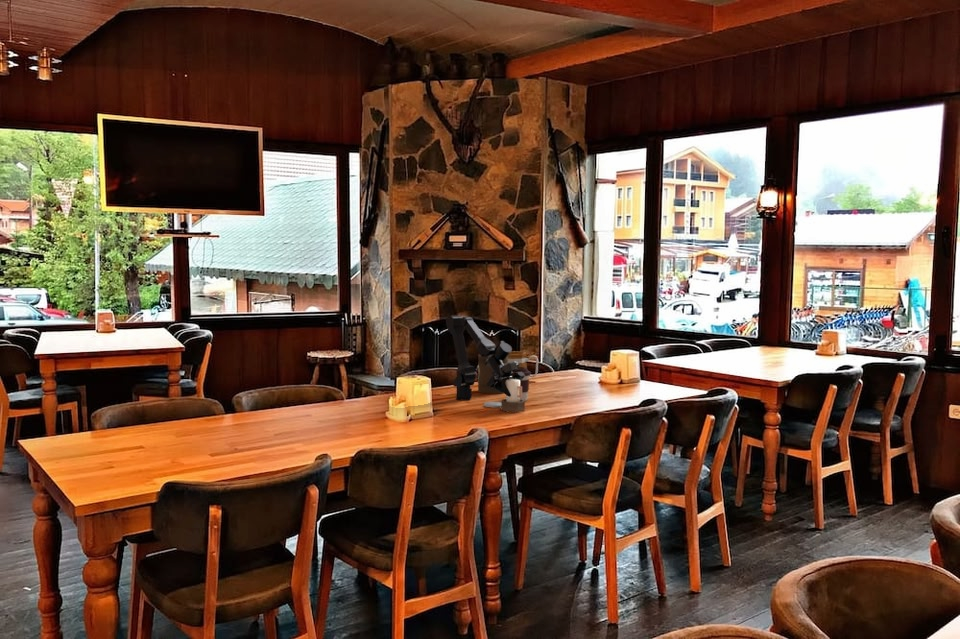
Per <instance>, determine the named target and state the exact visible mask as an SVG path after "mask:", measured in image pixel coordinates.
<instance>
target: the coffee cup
mask: <svg viewBox="0 0 960 639" xmlns="http://www.w3.org/2000/svg"><path fill="white" fill-rule="evenodd" d="M512 372H513V373H512V374H511V376H513V375H514V374H515V373H516V372H523V373H524V375H525V377H524V378H523V379H522V380H521V382H520V386H522V398H520V399H523V400H525V401H527V400H528V394H529V388H530V377H529V375H531V370H528V367H527V368H525V367H519V368H518V369H517V370H514V371H512Z"/></svg>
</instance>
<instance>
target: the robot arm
mask: <svg viewBox="0 0 960 639" xmlns="http://www.w3.org/2000/svg"><path fill="white" fill-rule="evenodd" d="M445 325H446V327H447V330H448V332H449V333H450V334H451V336H452V340H453V346H454V349H455V350H454V351H455V355H456V360H457V364H458V365H457V369H456V377H455V378H454V379H453V381H452V385H453V387H456V397H455V400H457V401H471V399H472V396H473V394H472V393H473V391H472V390H473V389H472V388H471V386H474V385H475V381H476V375H477V373H476V368H475V366H474V365H471V364H470V363H469V357H468V356H469V355H468V353H467V348H466V342H465V336H464V331H465V330H466V332H467V333H468V334H469V336H470V337H471V339H472V340H473V341H474V343H475V345H476V351H477V353H478V355H479V354H480V356H482V357H488V356H490V357H489V358H488V359H486V361H485V365H490V367H491V369H492V370H493V373H492V374H493V375H495V376H491V378H490V379H489V380H488V381H487V386H488V388H493V387H494V384H495V387H494V389H497V390H499V391H500V392H502V393H501V394H504V395H507V396H509V397H510V396H511V394H510V392H509V390H508V388H507V386H506V385H505V382H506V380H507V379H519V380H520V382H521V380H522V379H523V378H524V377H525V375H524V373H523V372H516V373H515V374H514V375H513V376H511V374H512V373H513V372H512V371H514V370H517V369H518V368H519V364H518V363H517V361H514V362H512V363H508V364H503V362H502V360H505V359H506V358H507V356H508V355H509V354H510V352H511V351H512V350H513V348H512V346H511V345H510V344H508V343H506V342H505V341H504V340H501V341H498V343H497V345H496V344H495V343H494V342H493V341H492V340H491V339H488V338H487V337H486V336H485V335H484V334H483V332H482V331H481V330H480V328H479V326H478V325H477V324H476V322H474V319H473V317H471V316H464V317H463V316H462V315H460V314H459V315H449V316H447V318H446V320H445Z"/></svg>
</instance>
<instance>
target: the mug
mask: <svg viewBox="0 0 960 639" xmlns="http://www.w3.org/2000/svg"><path fill="white" fill-rule="evenodd" d="M527 356H528V353H527V352H525V351H520V350H519V351H515V350H513V351H511V352H510V354H509V355H508V363H512V362H514V361H517V363H518V364H519V367H525V368H527V369H528V364H527V361H530V360H531V359H532V358H535V361H536V362H535V373H534V374H533V375H532V374H530V375H529V378H535V377H537V374H538V372H539V358H538V356H537V355H534V354H533V355H530V356H529V357H528V358H527Z"/></svg>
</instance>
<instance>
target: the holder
mask: <svg viewBox="0 0 960 639" xmlns="http://www.w3.org/2000/svg"><path fill="white" fill-rule="evenodd" d="M500 402H501V408H500V409H501V410H503V411H502V412H505V411H508V412H507V413H520V412H519V411H522V412H525V411H526V410H525V409H526V404H525V403H526V402H525V400H523V399H520V402H517V403H515V402H506V398H505V399H504V398H503V399H501V400H500Z"/></svg>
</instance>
